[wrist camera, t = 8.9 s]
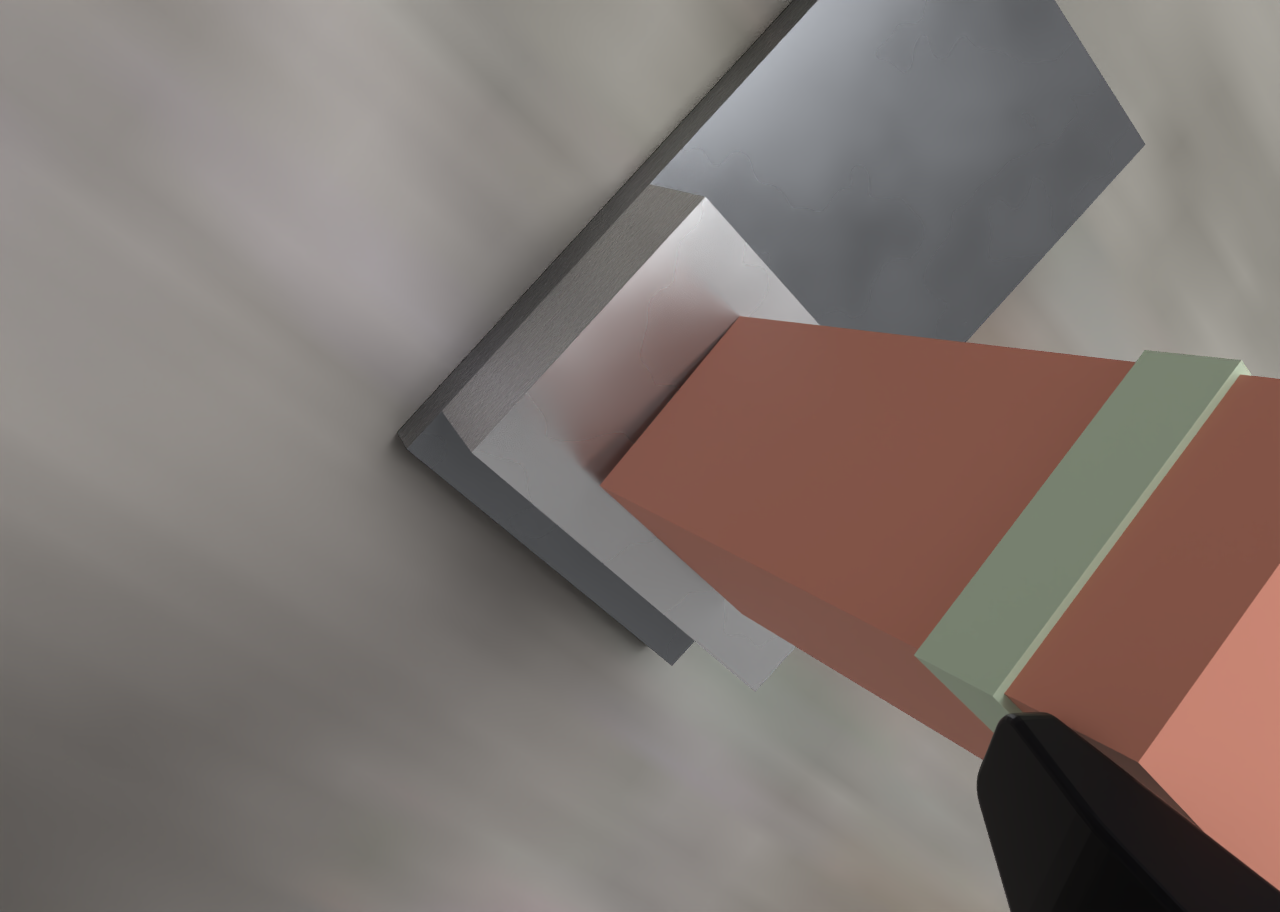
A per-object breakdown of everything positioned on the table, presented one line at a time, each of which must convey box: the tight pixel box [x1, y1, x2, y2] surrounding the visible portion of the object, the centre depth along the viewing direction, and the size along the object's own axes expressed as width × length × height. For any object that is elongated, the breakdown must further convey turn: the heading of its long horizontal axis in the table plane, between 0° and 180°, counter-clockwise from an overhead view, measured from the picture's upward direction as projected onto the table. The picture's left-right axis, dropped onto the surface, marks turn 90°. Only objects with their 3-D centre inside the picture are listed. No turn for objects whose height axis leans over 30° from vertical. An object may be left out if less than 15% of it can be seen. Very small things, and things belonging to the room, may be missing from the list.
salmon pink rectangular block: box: [600, 316, 1280, 891], centre depth 16 cm, size 4×4×12 cm
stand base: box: [398, 0, 1145, 691], centre depth 23 cm, size 16×8×4 cm, turn 135°
